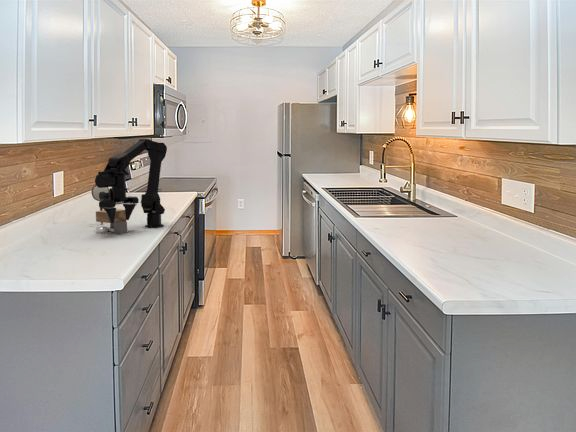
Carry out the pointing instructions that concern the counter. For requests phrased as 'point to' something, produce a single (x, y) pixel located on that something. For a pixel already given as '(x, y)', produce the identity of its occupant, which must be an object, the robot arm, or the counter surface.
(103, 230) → the steel puck
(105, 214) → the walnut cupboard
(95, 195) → the magnifying glass
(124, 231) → the spatula tool
